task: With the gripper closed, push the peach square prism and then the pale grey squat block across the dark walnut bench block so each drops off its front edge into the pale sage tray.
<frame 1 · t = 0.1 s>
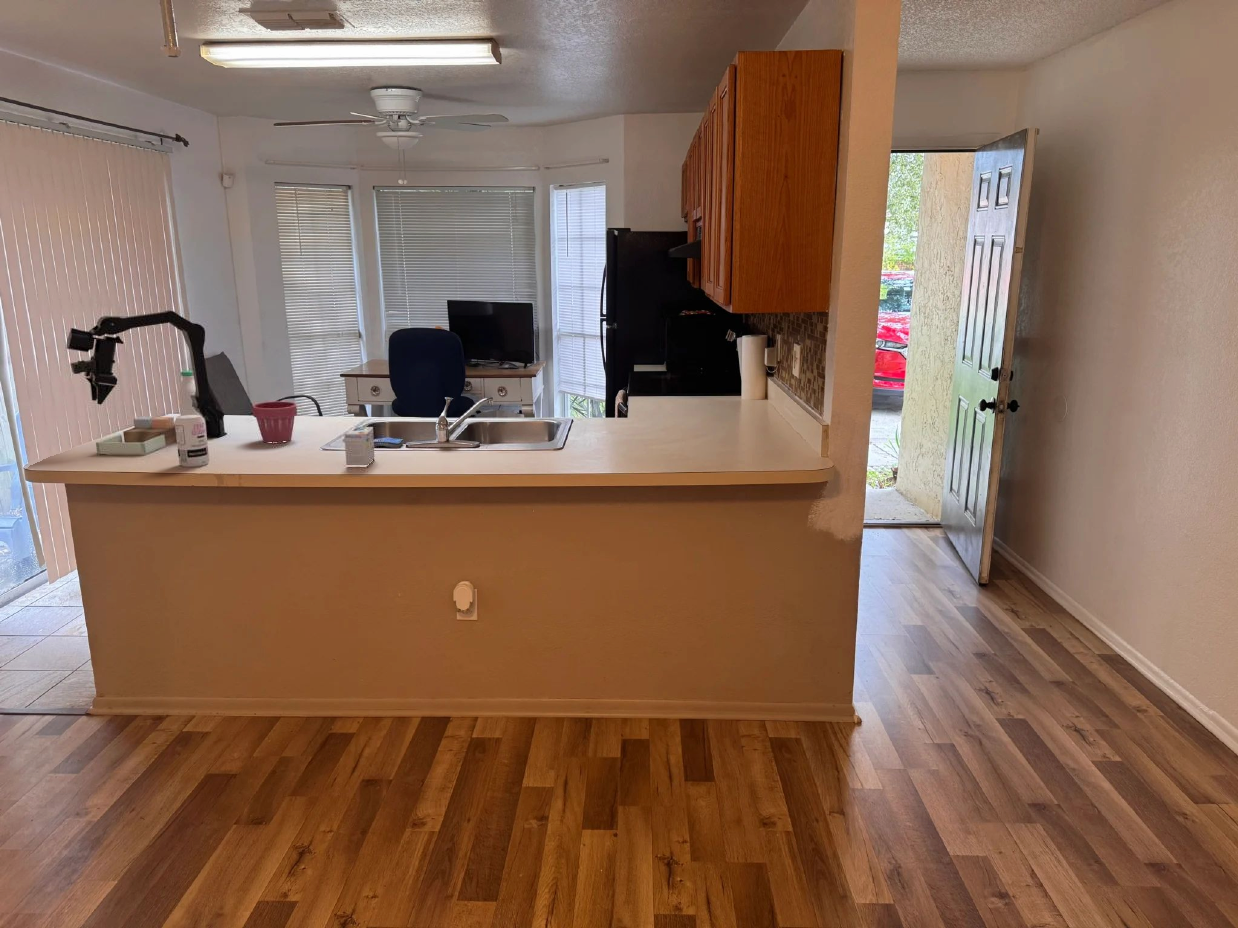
hand: (96, 402, 274), 15 cm above the countertop, tool pointing down, fingers open, 9 cm apart
milk bottle: (193, 424, 320), on the countertop
light bulb box: (361, 464, 262), on the countertop
supplement can: (194, 465, 259), on the countertop
plant pot: (277, 441, 293), on the countertop
peach square prism: (163, 426, 289), point 5 cm above the countertop, touching walnut bench block
walnut bench block: (154, 442, 287), on the countertop
pale grey squat block: (145, 426, 288), point 5 cm above the countertop, touching walnut bench block
sage tray: (132, 450, 275), on the countertop
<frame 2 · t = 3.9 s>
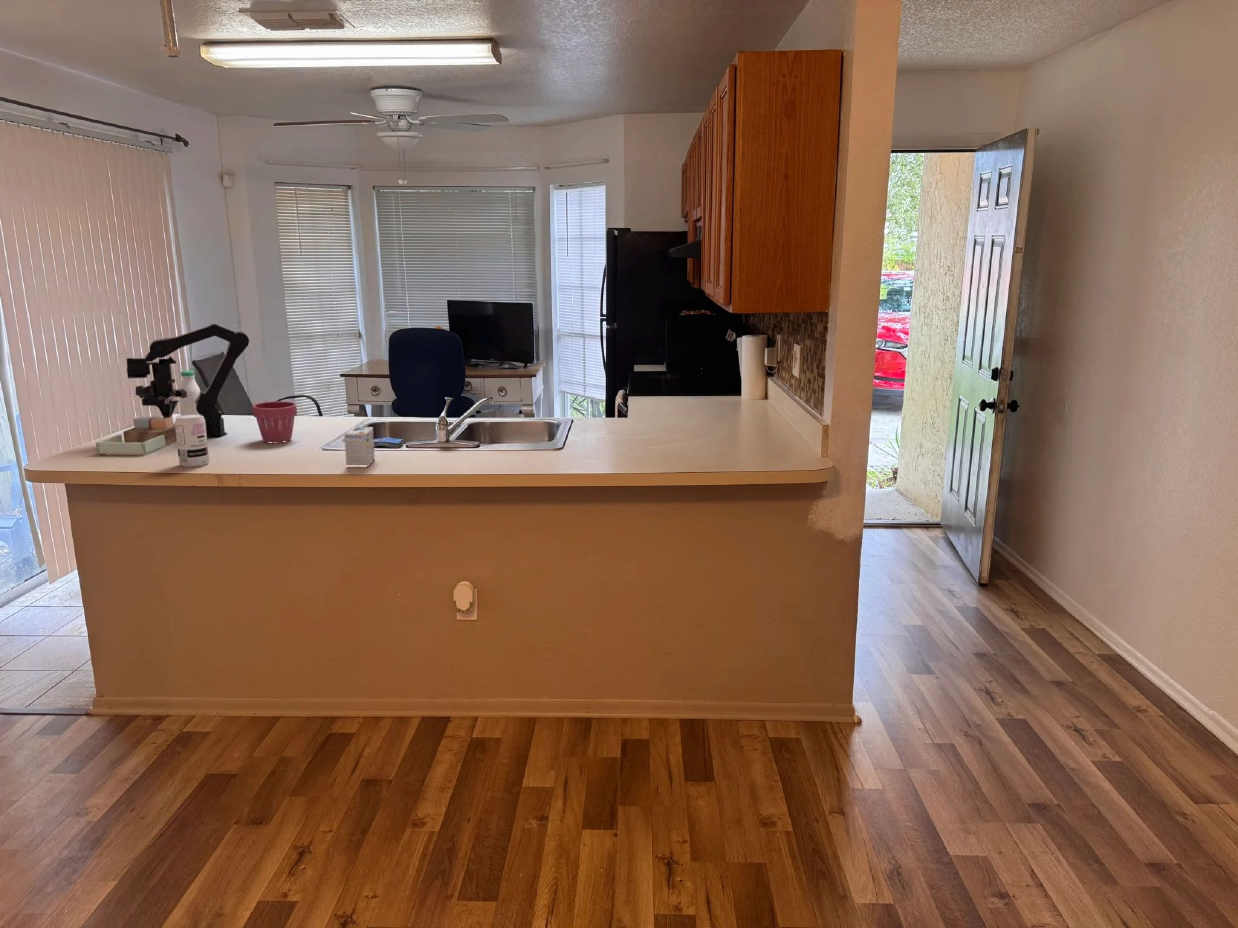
hand: (167, 422, 291), 6 cm above the countertop, tool pointing down, fingers closed
peach square prism: (162, 427, 288), point 5 cm above the countertop, touching gripper
everything else where it was.
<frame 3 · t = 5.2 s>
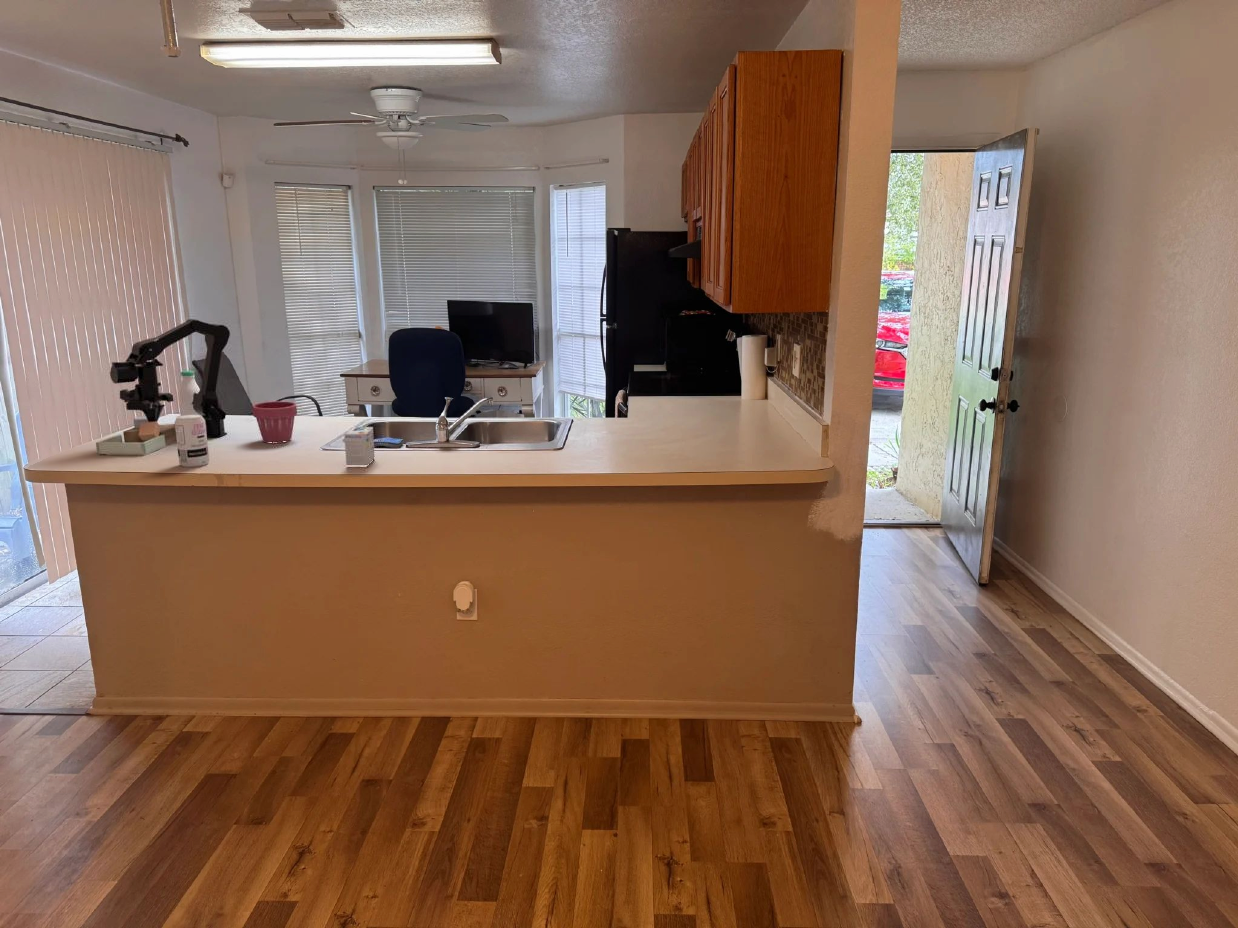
hand: (153, 426, 282), 6 cm above the countertop, tool pointing down, fingers closed
peach square prism: (151, 433, 280), point 5 cm above the countertop, tilted 45°
everything else where it was.
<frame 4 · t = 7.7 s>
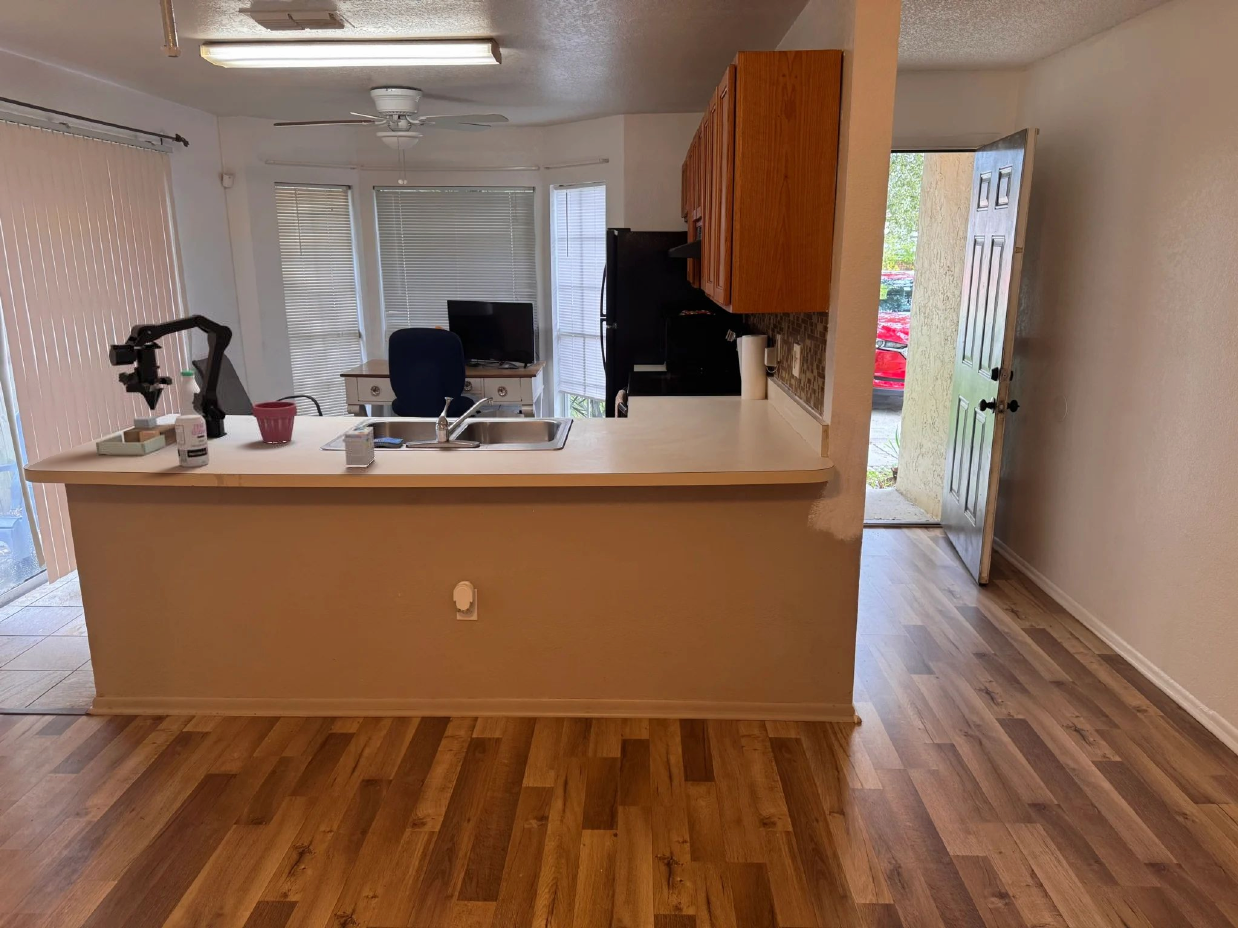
hand: (152, 409, 282), 12 cm above the countertop, tool pointing down, fingers closed
peach square prism: (152, 438, 280), point 3 cm above the countertop, tilted 90°, touching sage tray
everything else where it was.
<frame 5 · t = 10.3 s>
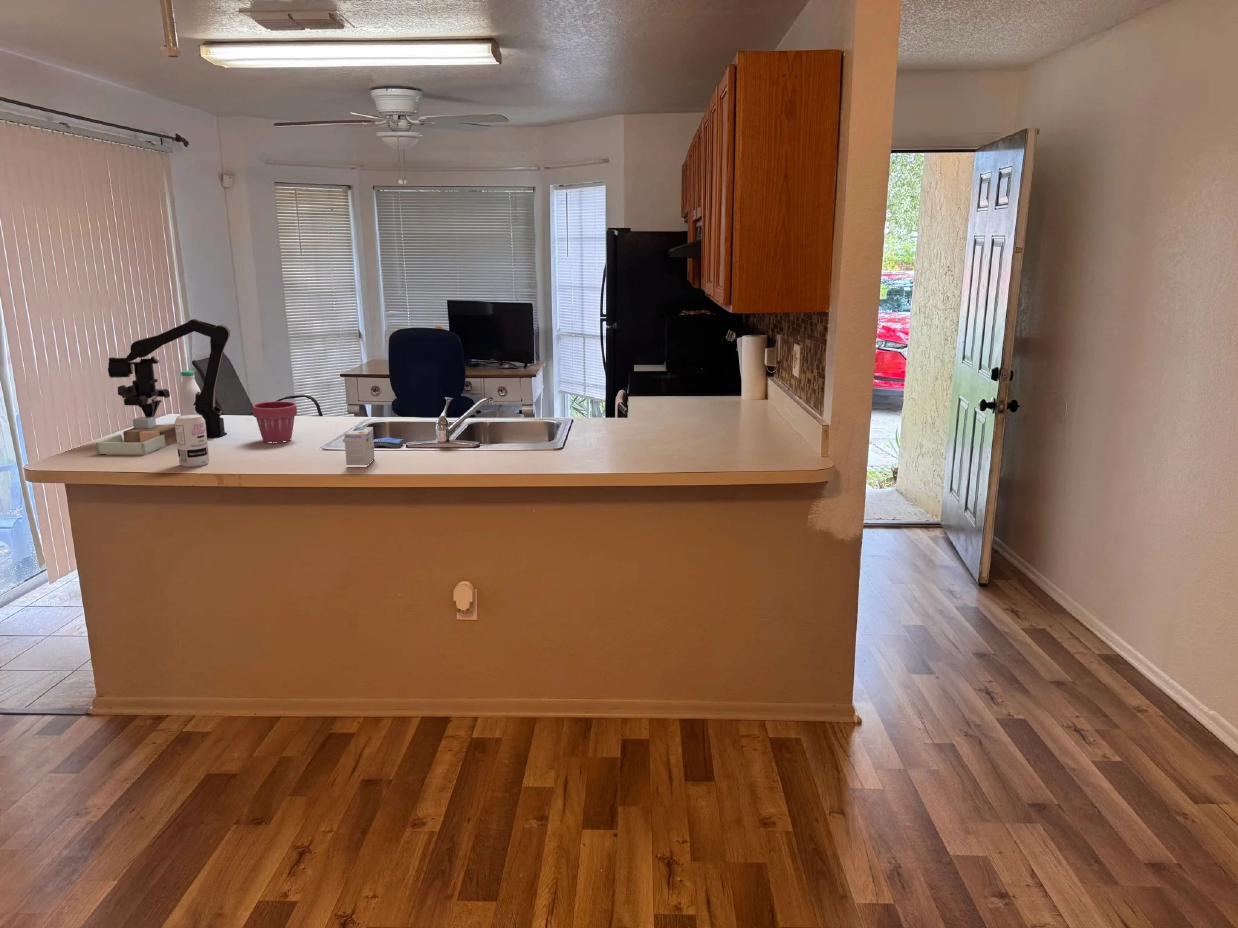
hand: (150, 421, 291), 6 cm above the countertop, tool pointing down, fingers closed
pale grey squat block: (145, 426, 288), point 5 cm above the countertop, touching gripper
everything else where it was.
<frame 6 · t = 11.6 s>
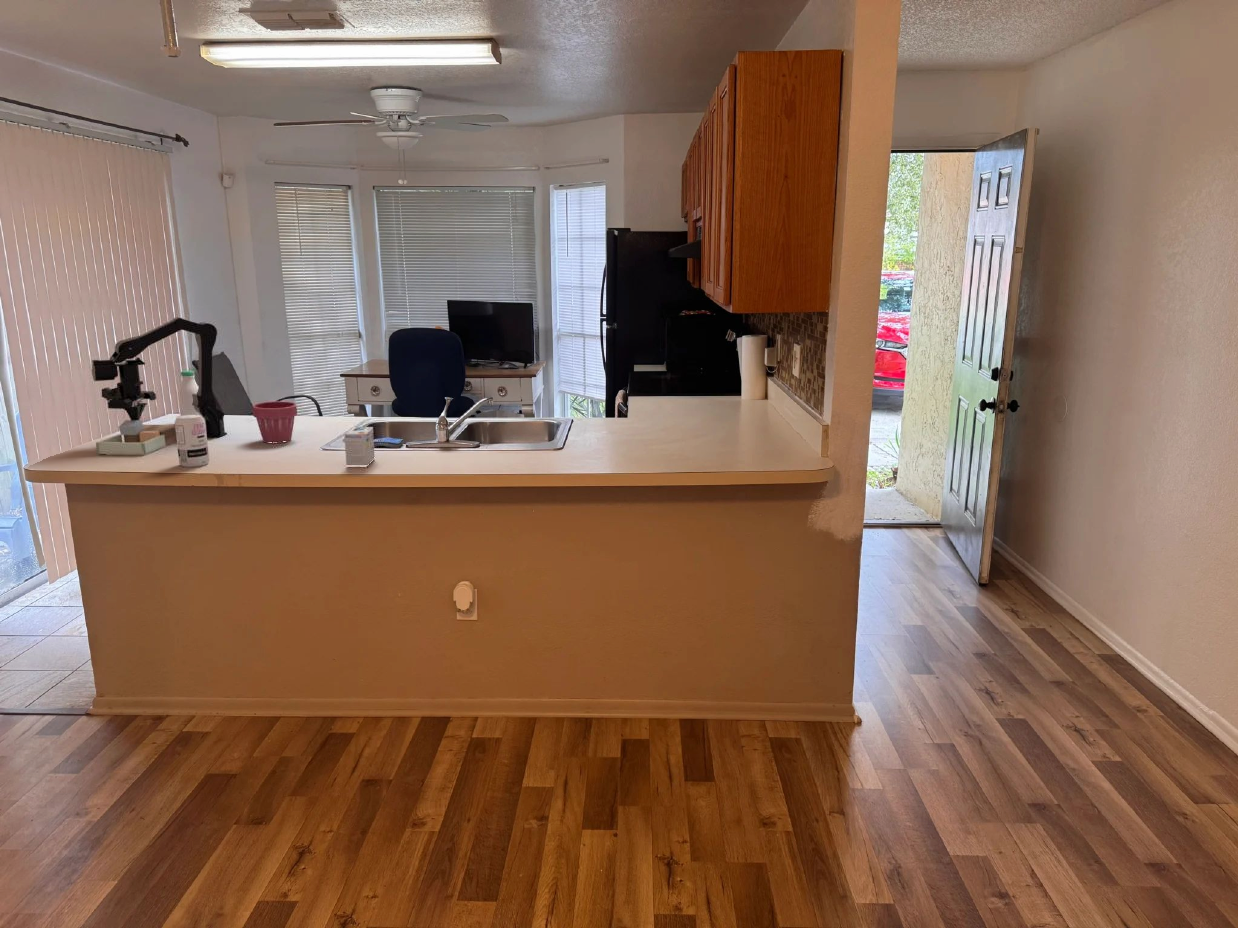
hand: (135, 425, 282), 7 cm above the countertop, tool pointing down, fingers closed
pale grey squat block: (132, 431, 280), point 5 cm above the countertop, tilted 15°, touching gripper, walnut bench block
everything else where it was.
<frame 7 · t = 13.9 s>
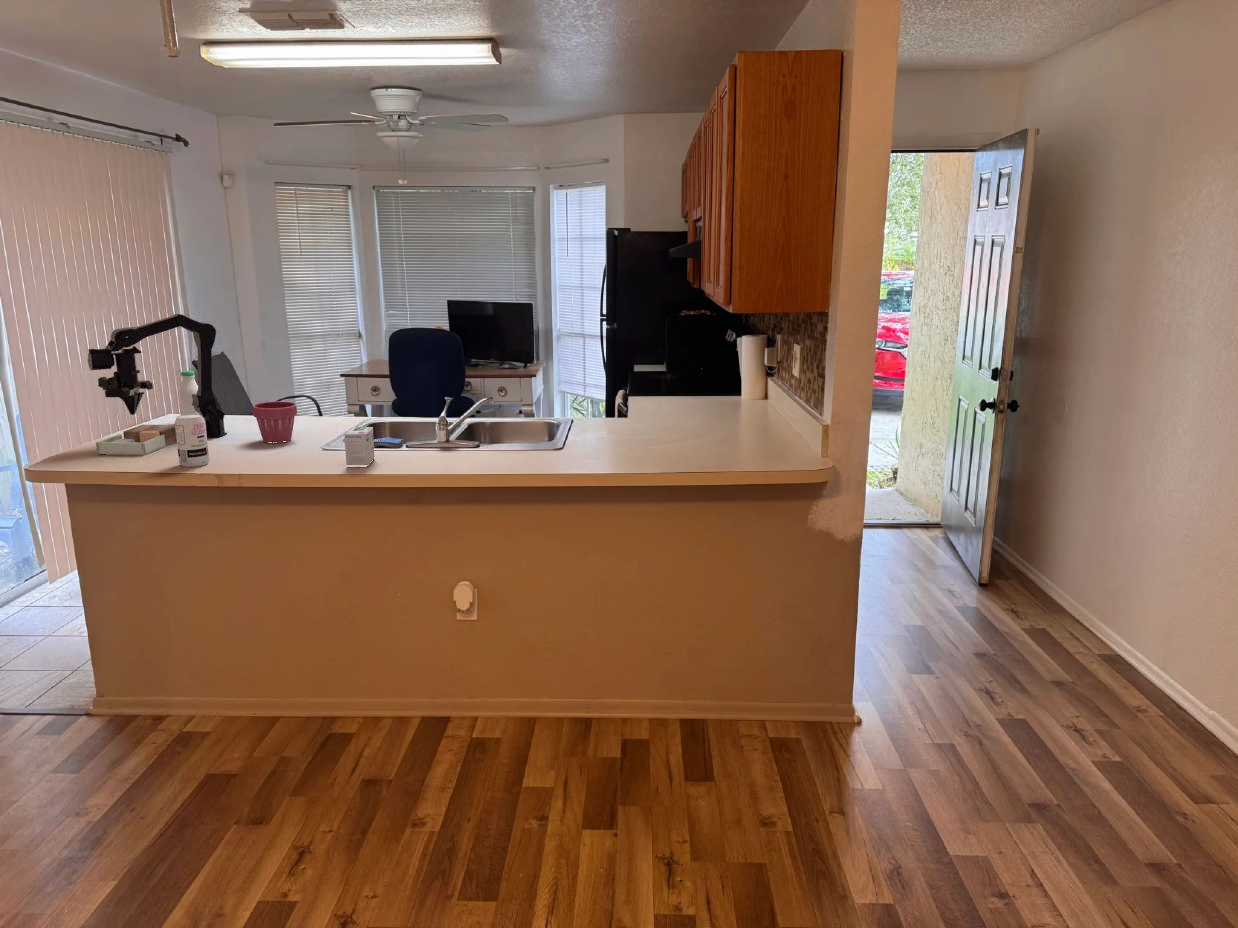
hand: (132, 414, 280), 10 cm above the countertop, tool pointing down, fingers closed
pale grey squat block: (122, 440, 274), point 3 cm above the countertop, tilted 180°, touching sage tray
everything else where it was.
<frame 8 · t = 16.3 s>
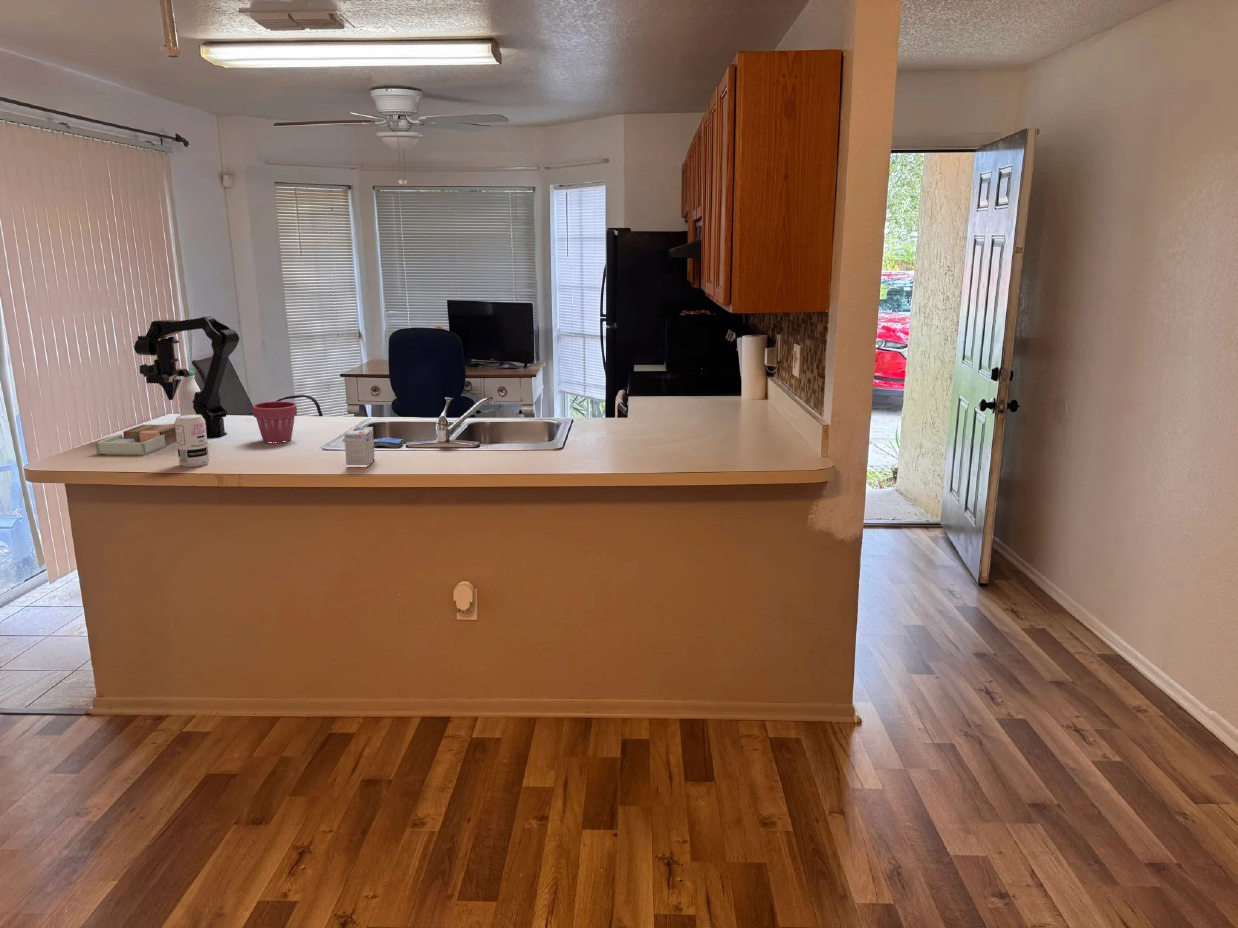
hand: (170, 400, 300), 12 cm above the countertop, tool pointing down, fingers closed
nothing on the countertop moved.
at the end: peach square prism inside the target area (7.1 cm from its centre), point 3.0 cm above the countertop; pale grey squat block inside the target area (2.3 cm from its centre), point 3.5 cm above the countertop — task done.
